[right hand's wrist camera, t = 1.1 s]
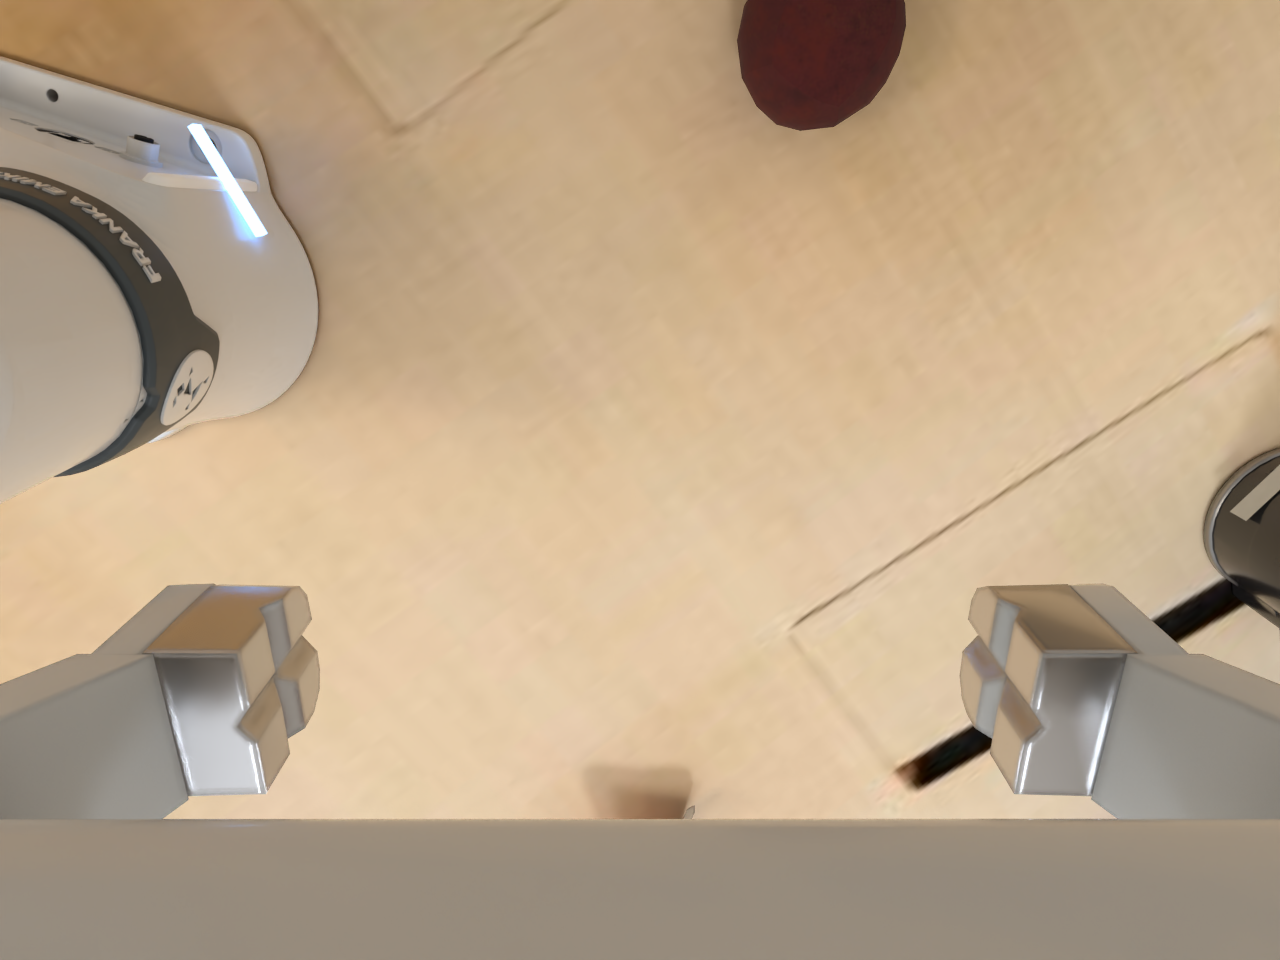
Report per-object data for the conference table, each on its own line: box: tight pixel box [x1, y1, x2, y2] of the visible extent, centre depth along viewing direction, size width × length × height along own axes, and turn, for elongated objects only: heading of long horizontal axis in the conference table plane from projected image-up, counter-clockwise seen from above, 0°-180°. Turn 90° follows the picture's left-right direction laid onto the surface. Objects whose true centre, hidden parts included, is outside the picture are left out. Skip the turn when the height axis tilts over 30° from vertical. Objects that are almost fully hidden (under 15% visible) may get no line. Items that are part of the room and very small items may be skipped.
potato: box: [737, 0, 906, 131], centre depth 38 cm, size 7×8×7 cm
